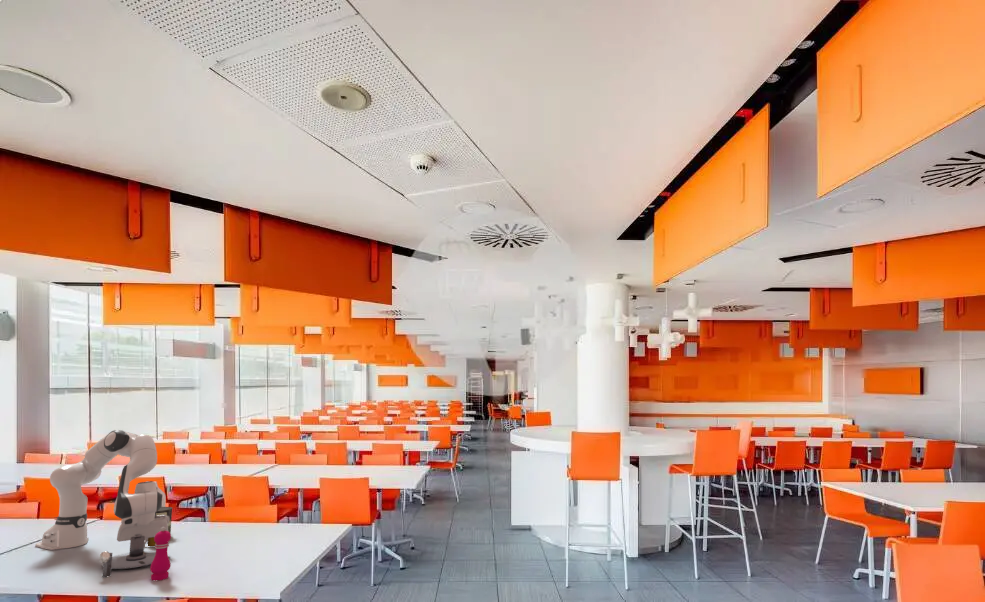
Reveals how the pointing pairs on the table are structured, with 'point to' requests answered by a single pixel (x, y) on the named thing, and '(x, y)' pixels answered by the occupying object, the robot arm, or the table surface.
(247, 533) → the table surface
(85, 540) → the robot arm
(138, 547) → the urn
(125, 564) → the turntable
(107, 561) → the grey bar with dome
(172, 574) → the table surface
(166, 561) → the pepper mill
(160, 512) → the coffee can
